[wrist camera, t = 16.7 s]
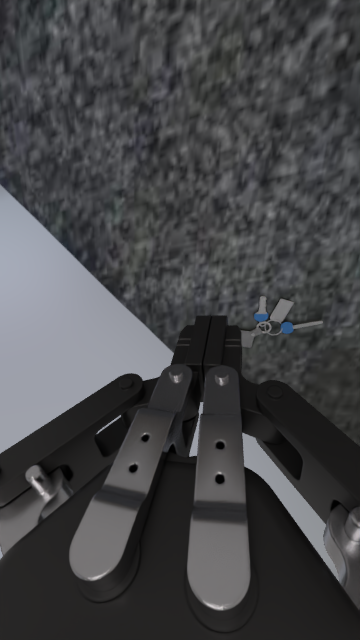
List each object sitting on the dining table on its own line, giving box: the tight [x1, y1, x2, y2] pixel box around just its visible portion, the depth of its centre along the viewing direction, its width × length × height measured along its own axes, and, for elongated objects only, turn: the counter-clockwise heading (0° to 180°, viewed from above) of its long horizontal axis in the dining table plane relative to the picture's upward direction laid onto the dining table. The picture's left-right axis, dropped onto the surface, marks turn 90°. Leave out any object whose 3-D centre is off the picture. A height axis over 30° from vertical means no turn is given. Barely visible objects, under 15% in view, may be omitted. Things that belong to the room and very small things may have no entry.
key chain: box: [240, 296, 323, 348], centre depth 45 cm, size 14×8×1 cm, turn 124°
